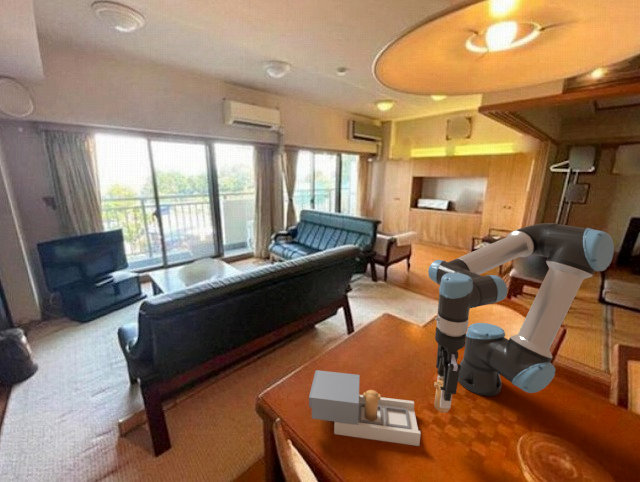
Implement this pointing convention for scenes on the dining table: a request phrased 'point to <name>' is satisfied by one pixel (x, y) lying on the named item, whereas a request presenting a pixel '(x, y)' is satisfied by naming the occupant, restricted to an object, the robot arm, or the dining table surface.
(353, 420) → the lid
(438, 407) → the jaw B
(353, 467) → the dining table surface
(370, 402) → the tan rounded piece
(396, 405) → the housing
